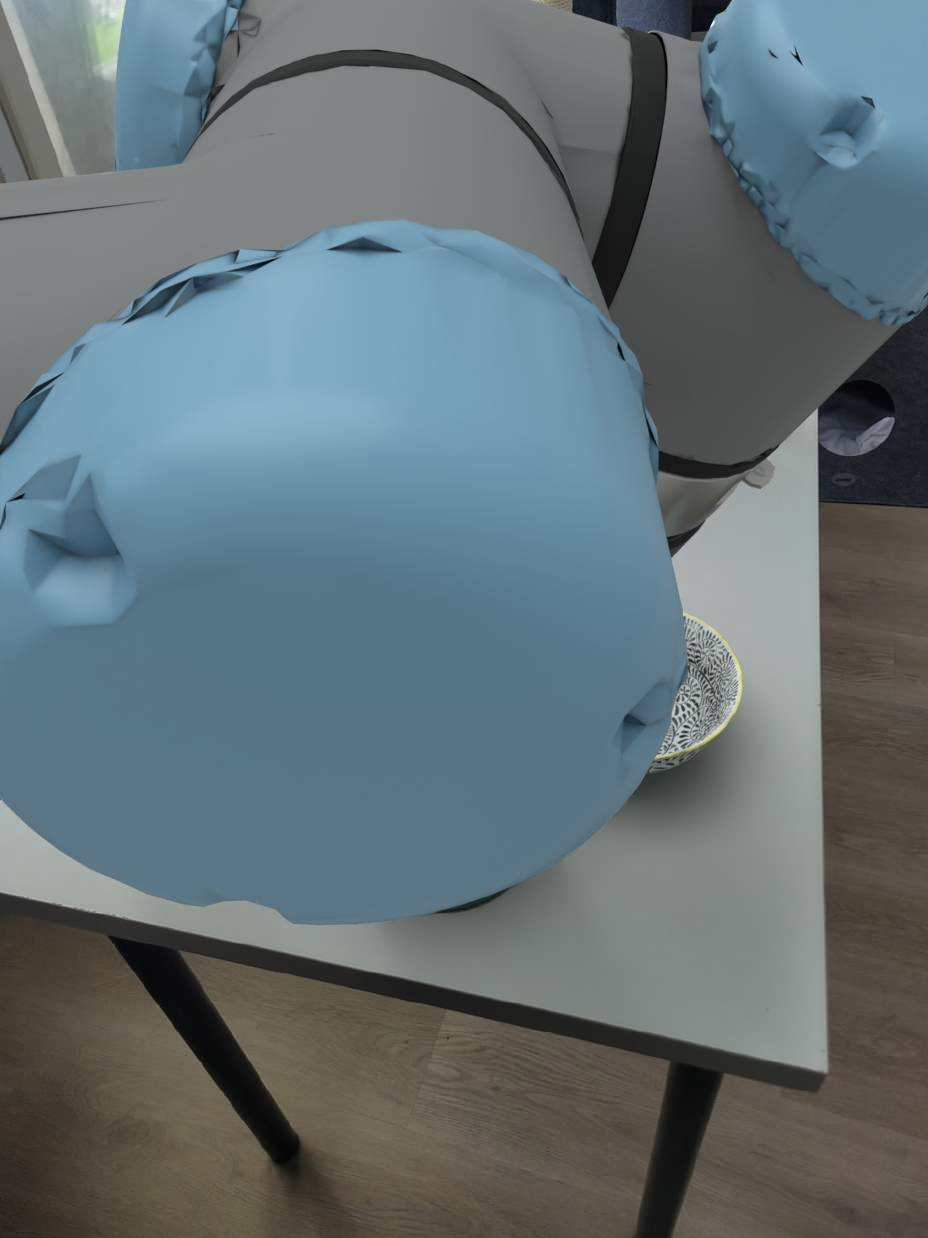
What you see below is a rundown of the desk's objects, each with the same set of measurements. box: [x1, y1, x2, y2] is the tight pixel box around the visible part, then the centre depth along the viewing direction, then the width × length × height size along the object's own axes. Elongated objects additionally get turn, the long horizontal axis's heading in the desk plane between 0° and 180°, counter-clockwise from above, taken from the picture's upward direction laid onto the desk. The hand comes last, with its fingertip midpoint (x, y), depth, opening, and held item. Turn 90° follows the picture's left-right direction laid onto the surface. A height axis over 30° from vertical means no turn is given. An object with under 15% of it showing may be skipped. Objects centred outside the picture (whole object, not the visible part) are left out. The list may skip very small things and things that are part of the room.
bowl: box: [645, 611, 744, 775], centre depth 73 cm, size 16×16×8 cm
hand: (476, 660), depth 52 cm, fingers open, 13 cm apart
